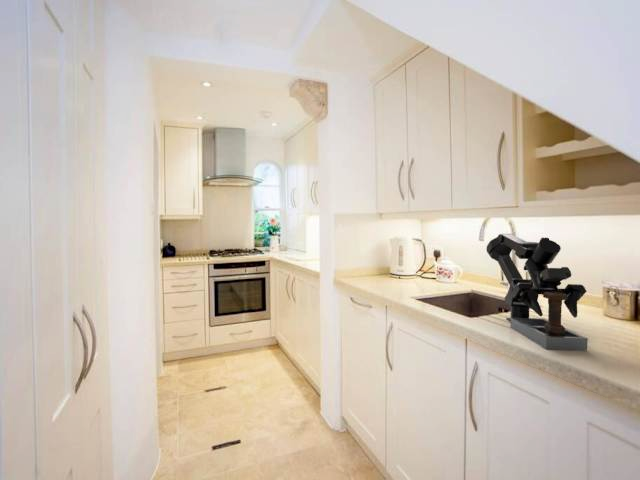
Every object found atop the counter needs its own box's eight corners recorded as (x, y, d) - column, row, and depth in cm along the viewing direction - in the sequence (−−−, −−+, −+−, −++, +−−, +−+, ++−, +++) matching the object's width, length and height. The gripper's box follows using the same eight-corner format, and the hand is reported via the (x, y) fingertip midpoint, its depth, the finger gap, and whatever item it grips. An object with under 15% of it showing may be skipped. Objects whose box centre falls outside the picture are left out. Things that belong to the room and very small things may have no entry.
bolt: (565, 342, 98) (566, 292, 97) (566, 347, 93) (568, 295, 93) (542, 338, 101) (543, 290, 100) (542, 343, 97) (543, 293, 96)
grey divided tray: (510, 327, 112) (510, 317, 112) (544, 328, 111) (544, 318, 111) (545, 349, 92) (546, 337, 92) (587, 350, 91) (587, 338, 91)
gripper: (517, 256, 101) (534, 300, 90) (583, 258, 98) (609, 302, 88) (505, 278, 109) (520, 320, 98) (566, 279, 106) (588, 323, 96)
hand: (558, 316), depth 95 cm, fingers open, 9 cm apart
